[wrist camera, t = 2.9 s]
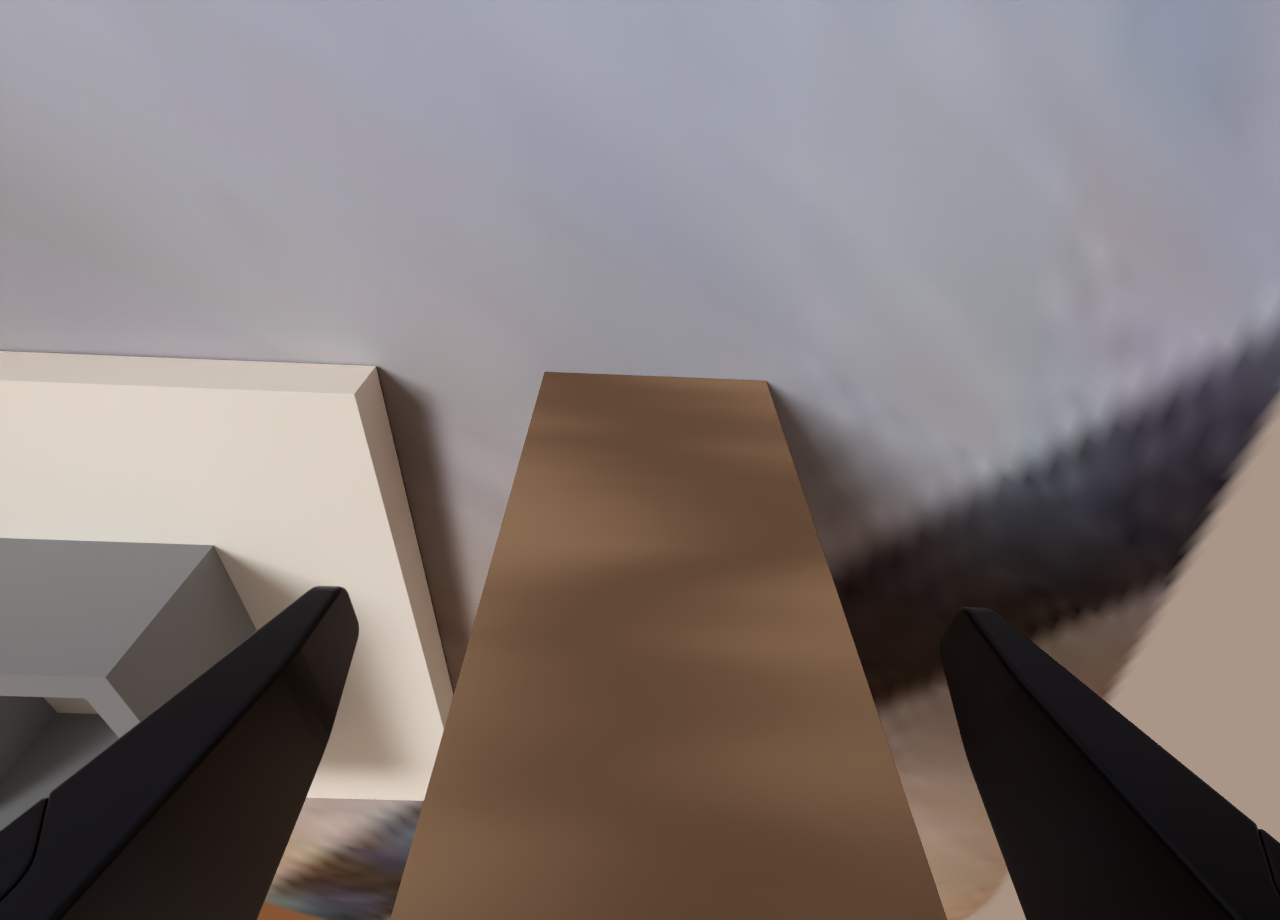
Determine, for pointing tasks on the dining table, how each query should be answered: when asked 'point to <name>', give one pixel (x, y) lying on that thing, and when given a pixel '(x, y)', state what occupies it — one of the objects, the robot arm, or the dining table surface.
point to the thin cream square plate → (201, 556)
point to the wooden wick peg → (662, 687)
